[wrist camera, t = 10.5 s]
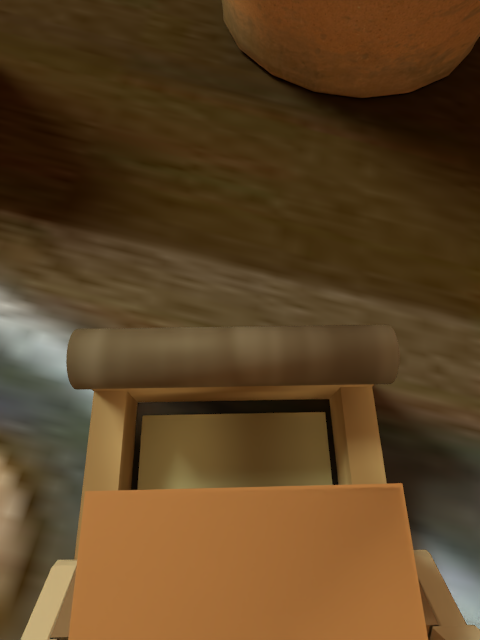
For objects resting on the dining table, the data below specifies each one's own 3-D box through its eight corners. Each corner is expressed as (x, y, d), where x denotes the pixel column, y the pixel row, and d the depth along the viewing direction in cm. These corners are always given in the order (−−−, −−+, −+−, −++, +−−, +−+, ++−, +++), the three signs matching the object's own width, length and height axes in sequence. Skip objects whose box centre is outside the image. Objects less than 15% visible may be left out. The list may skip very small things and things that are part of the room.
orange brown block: (155, 669, 12) (36, 919, 5) (162, 497, 14) (85, 491, 7) (330, 663, 12) (471, 900, 5) (315, 493, 14) (402, 482, 7)
